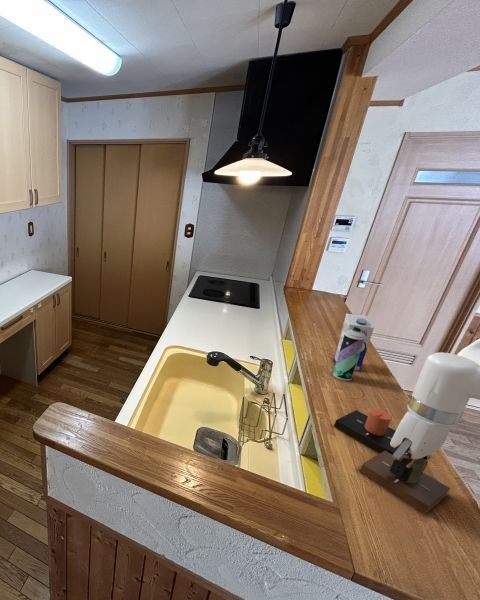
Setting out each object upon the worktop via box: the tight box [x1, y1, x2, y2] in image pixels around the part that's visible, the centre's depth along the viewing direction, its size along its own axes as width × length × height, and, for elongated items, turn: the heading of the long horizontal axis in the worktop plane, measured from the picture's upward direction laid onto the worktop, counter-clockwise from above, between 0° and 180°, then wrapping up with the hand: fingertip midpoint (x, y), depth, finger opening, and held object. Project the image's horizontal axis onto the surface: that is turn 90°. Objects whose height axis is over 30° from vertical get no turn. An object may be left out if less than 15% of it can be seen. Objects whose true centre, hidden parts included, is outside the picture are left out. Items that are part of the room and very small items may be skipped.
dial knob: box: [364, 408, 393, 436], centre depth 88 cm, size 4×4×6 cm
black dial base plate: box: [333, 409, 400, 455], centre depth 89 cm, size 14×10×3 cm
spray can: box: [332, 326, 365, 382], centre depth 114 cm, size 6×6×20 cm
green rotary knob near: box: [395, 451, 427, 483], centre depth 74 cm, size 4×4×6 cm
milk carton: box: [333, 313, 375, 372], centre depth 121 cm, size 7×7×20 cm
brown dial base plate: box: [359, 451, 451, 515], centre depth 76 cm, size 12×10×3 cm
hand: (405, 472), depth 75 cm, fingers closed on green rotary knob near, 4 cm apart
